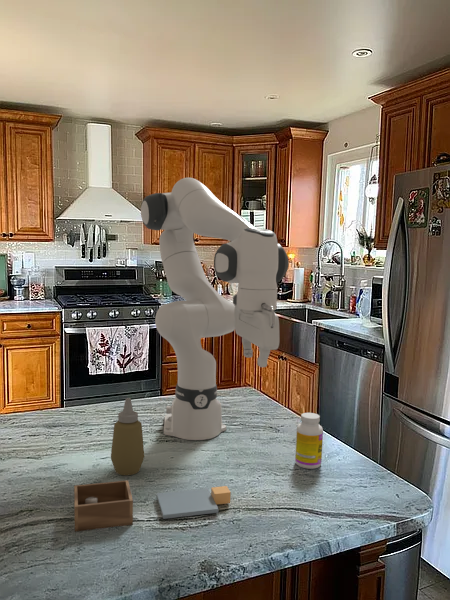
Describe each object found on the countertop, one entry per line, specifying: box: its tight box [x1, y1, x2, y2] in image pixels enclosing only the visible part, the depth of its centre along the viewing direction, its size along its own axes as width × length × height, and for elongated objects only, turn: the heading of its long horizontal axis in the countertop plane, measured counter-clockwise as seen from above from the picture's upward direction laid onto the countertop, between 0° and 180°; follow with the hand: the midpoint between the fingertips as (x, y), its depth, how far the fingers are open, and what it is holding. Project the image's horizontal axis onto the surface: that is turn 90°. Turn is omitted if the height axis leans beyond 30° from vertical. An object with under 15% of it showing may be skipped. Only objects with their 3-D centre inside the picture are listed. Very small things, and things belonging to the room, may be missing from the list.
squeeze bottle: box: [110, 397, 145, 476], centre depth 126 cm, size 8×8×18 cm
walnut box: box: [73, 479, 134, 533], centre depth 106 cm, size 9×11×5 cm
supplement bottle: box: [294, 412, 324, 470], centre depth 133 cm, size 7×7×13 cm
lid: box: [156, 485, 232, 520], centre depth 111 cm, size 9×15×3 cm, turn 106°
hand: (254, 361), depth 119 cm, fingers open, 8 cm apart
